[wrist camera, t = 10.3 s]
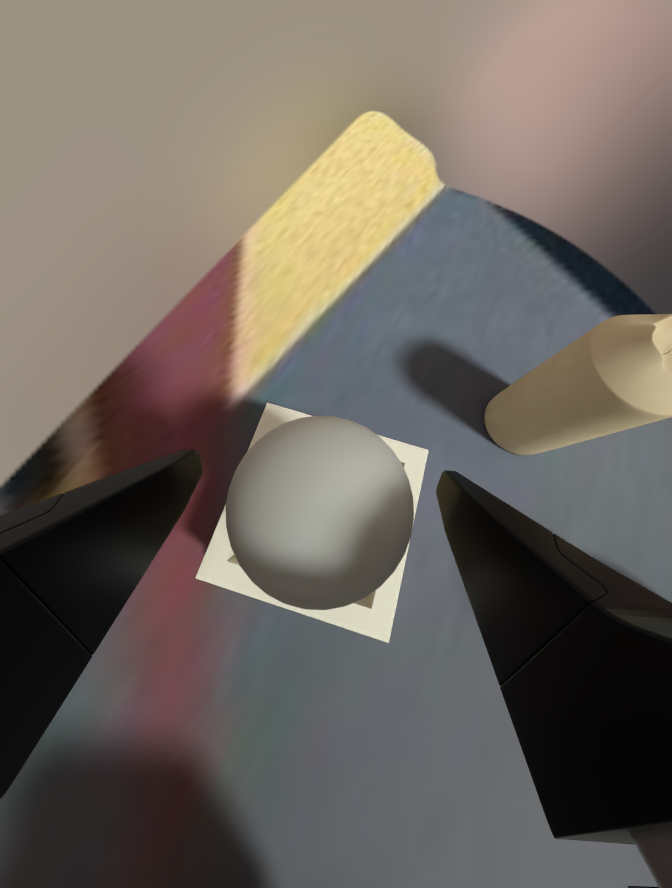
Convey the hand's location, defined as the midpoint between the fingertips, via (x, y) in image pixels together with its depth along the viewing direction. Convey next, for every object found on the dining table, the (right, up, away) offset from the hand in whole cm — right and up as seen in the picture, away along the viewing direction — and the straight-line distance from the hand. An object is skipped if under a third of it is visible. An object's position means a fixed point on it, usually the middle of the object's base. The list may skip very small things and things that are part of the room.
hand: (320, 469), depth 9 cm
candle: (+15, +3, +11) cm, 19 cm away
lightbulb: (0, -3, +7) cm, 8 cm away
